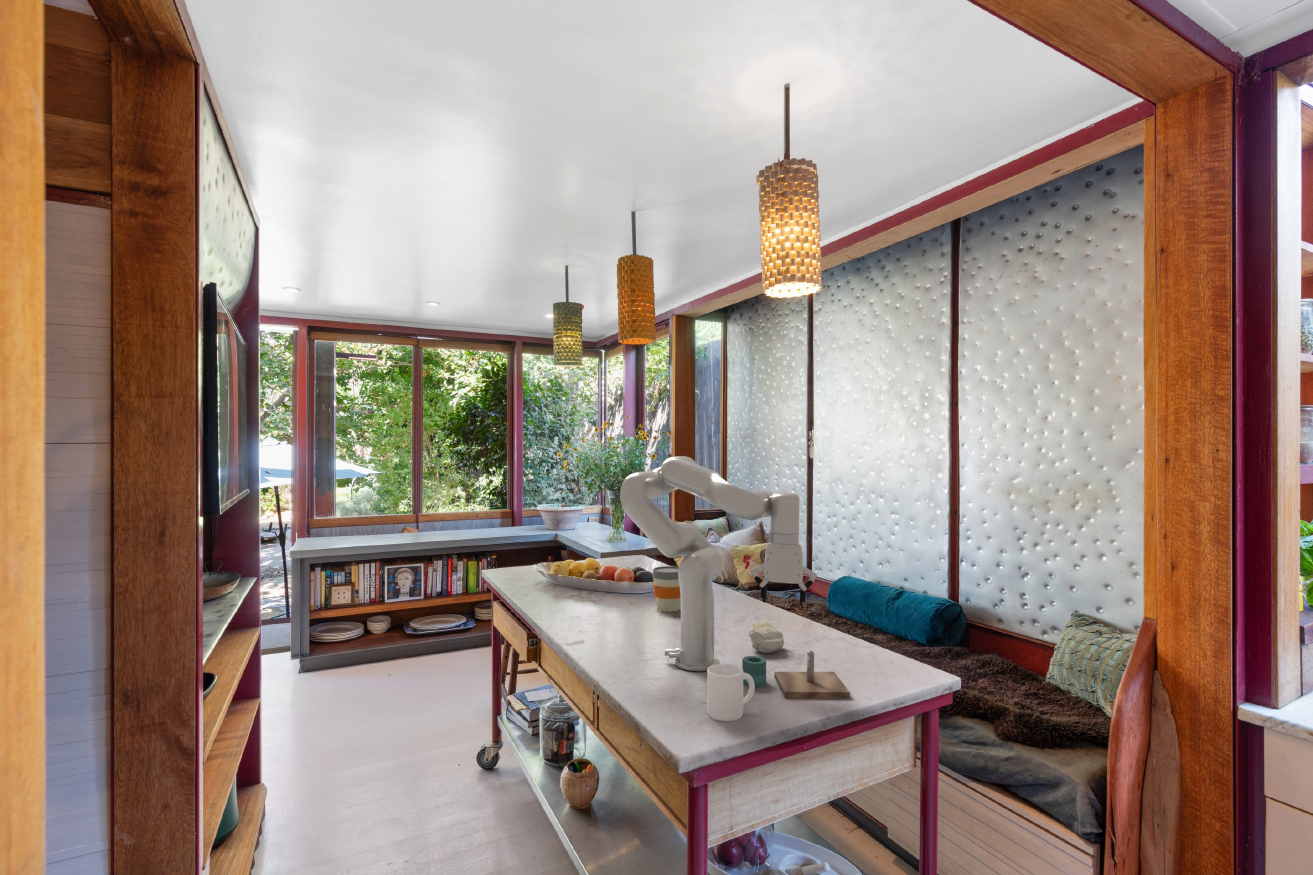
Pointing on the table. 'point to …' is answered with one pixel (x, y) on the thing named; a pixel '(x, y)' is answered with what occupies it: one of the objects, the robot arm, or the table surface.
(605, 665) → the table surface
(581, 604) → the table surface
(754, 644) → the fossil replica
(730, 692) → the mug
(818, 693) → the spindle stand
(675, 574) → the reusable coffee cup
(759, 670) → the bead
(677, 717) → the table surface
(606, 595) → the table surface
